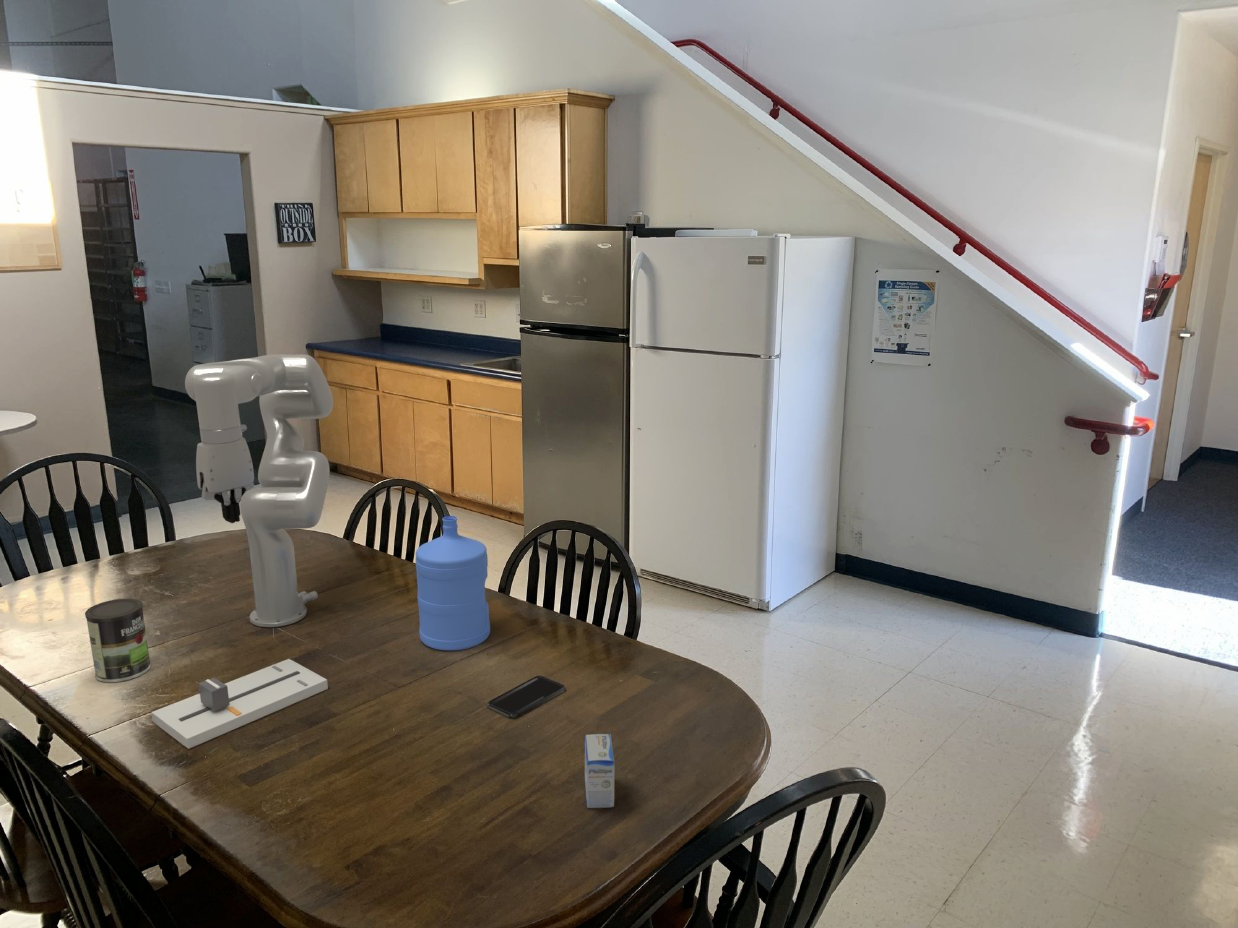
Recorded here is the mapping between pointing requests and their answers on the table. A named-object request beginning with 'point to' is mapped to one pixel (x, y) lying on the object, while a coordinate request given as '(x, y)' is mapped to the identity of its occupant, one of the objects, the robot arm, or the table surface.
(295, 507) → the robot arm
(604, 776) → the medicine box
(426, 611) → the water jug
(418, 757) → the table surface
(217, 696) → the fader knob
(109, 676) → the coffee can
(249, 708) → the fader board
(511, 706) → the phone
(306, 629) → the table surface
